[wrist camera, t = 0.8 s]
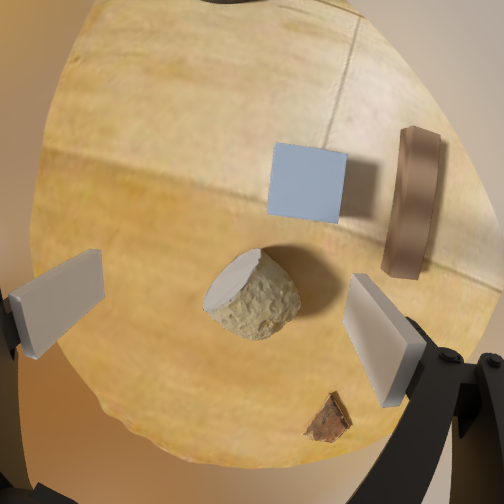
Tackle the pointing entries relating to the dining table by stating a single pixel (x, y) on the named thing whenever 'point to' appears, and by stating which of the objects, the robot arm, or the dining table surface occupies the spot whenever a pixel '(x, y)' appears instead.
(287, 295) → the cut rock
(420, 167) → the brown wavy bar
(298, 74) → the dining table surface
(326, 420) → the shard
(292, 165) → the block
